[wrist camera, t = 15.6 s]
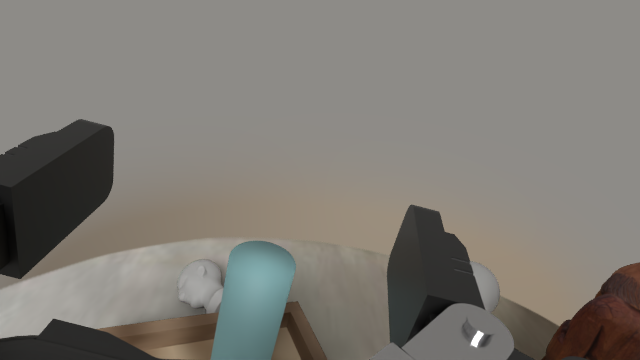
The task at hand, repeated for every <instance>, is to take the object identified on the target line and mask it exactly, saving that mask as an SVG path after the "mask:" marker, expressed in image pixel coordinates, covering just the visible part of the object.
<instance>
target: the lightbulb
mask: <svg viewBox="0 0 640 360" xmlns="http://www.w3.org/2000/svg"><path fill="white" fill-rule="evenodd" d="M470 264H471V266H472V269H473V272H474V273H473V275H474V276H475V279H476V282H477V285H478V288H479V291H480V294H481V298H482V301H483V304H484V307H485V310H486V311H488V312H490V313H491V312H492V311H493V310H494V309H495V307H496V306H497V304H498V300H499V297H500V289H499V284H498V282H497V279H496V278H495V276H494V274H493V273H492V272H491V271H490V270H489V269H488V268H486V267H485V266H484V265H482V264H480V263H477V262H473V261H470Z"/></svg>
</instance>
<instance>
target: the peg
mask: <svg viewBox="0 0 640 360" xmlns="http://www.w3.org/2000/svg"><path fill="white" fill-rule="evenodd" d="M295 269H296V264H295V261H294V258H293V257H292V256H291V254H290V253H289V252H288V251H286V250H285V249H284V248H282V247H280V246H278V245H276V244H273V243H270V242H265V241H249V242H244V243H242V244H239V245H238V246H236V247H235V248H234V249H233V250H232V251H231V253H230V256H229V261H228V266H227V272H226V277H225V283H224V288H223V294H222V299H221V305H220V310H219V316H218V321H217V326H216V332H215V337H214V343H213V348H212V354H211V359H210V360H271V358H272V354H273V350H274V347H275V343H276V339H277V336H278V332H279V328H280V325H281V321H282V317H283V314H284V310H285V306H286V303H287V299H288V295H289V291H290V288H291V284H292V280H293V277H294V273H295Z"/></svg>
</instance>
